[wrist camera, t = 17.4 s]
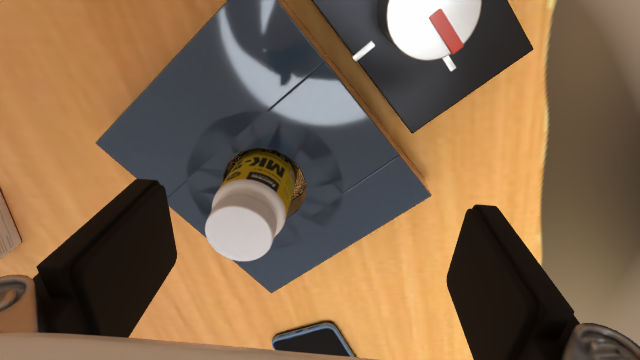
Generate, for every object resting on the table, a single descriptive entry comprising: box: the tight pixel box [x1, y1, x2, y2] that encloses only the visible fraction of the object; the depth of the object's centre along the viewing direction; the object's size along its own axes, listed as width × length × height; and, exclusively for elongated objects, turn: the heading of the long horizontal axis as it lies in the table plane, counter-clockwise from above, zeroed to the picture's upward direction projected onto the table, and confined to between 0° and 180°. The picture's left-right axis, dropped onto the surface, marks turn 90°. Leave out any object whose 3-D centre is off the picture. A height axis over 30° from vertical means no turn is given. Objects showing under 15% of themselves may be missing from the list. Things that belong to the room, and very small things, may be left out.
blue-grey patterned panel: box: [96, 0, 431, 293], centre depth 26 cm, size 18×16×2 cm
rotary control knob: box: [377, 0, 482, 61], centre depth 17 cm, size 4×4×5 cm
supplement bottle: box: [205, 148, 297, 261], centre depth 24 cm, size 5×5×8 cm
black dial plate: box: [312, 0, 533, 133], centre depth 20 cm, size 12×8×3 cm
